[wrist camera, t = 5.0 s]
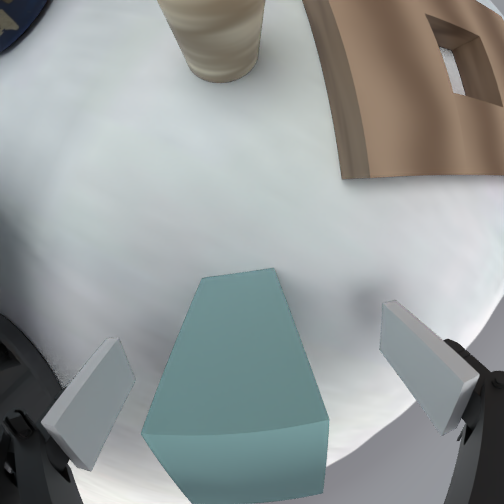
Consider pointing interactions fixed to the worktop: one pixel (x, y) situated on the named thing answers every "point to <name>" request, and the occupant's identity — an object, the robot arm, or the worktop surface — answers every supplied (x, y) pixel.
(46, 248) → the worktop surface
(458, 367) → the robot arm
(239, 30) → the round dowel
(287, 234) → the worktop surface
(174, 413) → the square peg
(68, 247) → the worktop surface
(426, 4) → the socket block
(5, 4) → the canister
